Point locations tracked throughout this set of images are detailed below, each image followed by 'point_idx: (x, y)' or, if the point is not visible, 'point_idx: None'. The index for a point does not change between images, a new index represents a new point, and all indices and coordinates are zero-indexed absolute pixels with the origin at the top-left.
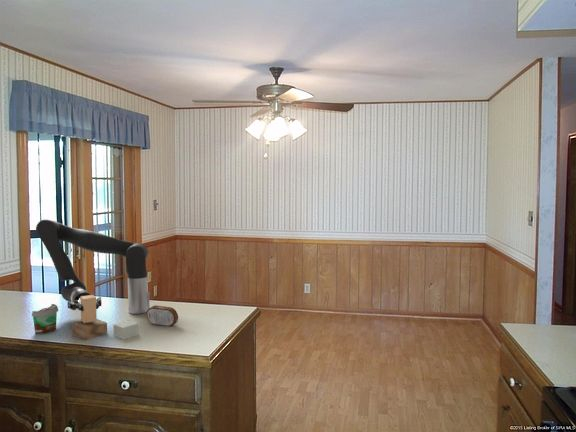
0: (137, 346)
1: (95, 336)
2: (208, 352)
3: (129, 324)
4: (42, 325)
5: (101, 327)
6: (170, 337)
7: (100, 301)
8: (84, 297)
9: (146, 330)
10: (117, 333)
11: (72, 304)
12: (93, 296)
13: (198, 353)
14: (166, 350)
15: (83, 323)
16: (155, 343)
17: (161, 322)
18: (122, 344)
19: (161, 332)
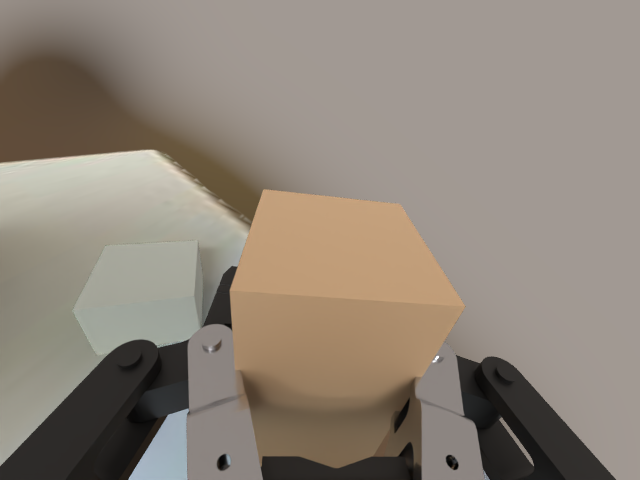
0: (212, 220)
1: None
2: (139, 153)
3: (142, 254)
4: None
5: None
6: (87, 217)
7: (140, 348)
8: (389, 235)
9: (36, 312)
10: (200, 297)
11: (523, 380)
12: (273, 218)
13: (155, 157)
14: (182, 182)
15: None
16: (162, 211)
17: None
18: (234, 247)
19: (40, 259)
